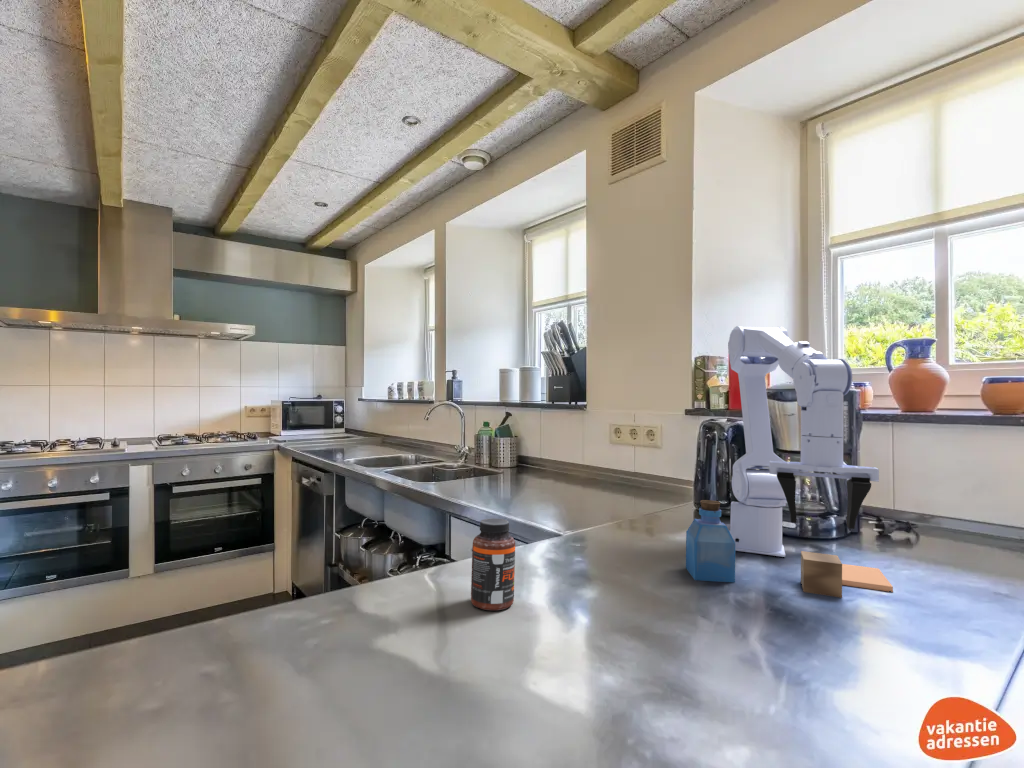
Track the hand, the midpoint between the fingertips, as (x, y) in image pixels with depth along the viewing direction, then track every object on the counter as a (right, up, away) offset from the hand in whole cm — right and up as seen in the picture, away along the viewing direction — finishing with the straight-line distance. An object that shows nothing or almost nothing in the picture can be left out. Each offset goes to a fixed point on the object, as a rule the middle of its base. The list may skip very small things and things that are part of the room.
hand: (821, 524), depth 81 cm
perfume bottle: (-15, -10, +5) cm, 19 cm away
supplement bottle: (-51, -9, -9) cm, 52 cm away
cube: (0, -10, 0) cm, 10 cm away
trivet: (+8, -10, +6) cm, 14 cm away
